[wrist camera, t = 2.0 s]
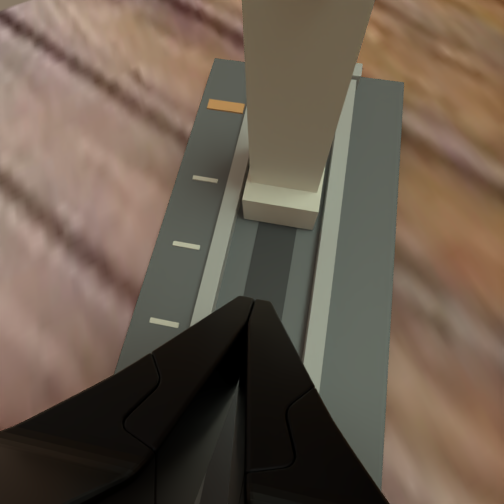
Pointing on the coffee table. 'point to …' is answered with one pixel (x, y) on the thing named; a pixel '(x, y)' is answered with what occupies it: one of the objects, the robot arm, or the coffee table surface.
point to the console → (286, 258)
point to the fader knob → (295, 99)
